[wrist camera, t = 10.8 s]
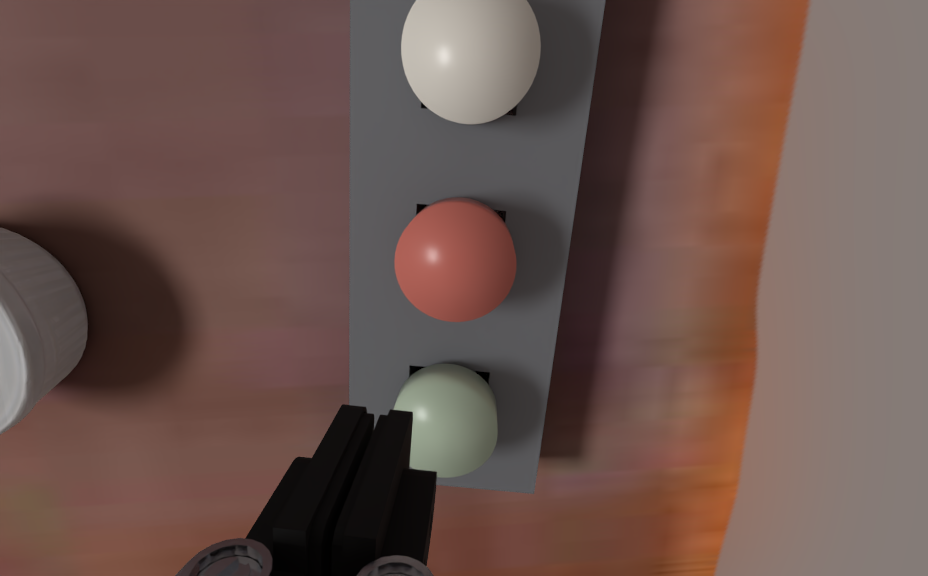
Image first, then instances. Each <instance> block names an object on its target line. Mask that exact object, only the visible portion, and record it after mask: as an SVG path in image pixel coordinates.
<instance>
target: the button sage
mask: <svg viewBox="0 0 928 576" xmlns="http://www.w3.org/2000/svg"><path fill="white" fill-rule="evenodd" d="M393 410H401V411H411V412H413V425H412V439H411V452H410V467H412V468H413V469H417V470H427V471H436V472H437V477H441V478H449V477H457V476H462V475H465V474H468V473H470V472H472V471H474V470H476V469H477V468H479V467H480V466H481V465H483V464H484V463H485V462H486V461H487V460H488V458H489V457H490V456H491V454H492V452H493V450H494V448H495V445H496V442H497V435H498V428H497V406H496V400H495V396H494V394H493V392H492V390H491V388H490V386H489V385H488V384H487V382H486V381H485V380H484V379H483V378H482V377H481V376H479V375H478V374H477V373H476V372H475V371H472V370H470V369H468V368H465V367H463V366H459V365H455V364H435V365H430V366H427V367H425V368H422V369H420V370H418V371H417V372H415V373H414V374H412V375H411V376H410V377H409V378H408V379H407V380H406V381H405V383H404V384H403V386H402V387H401V389H400V392H399V394H398V397H397V400H396V403H395V406H394V409H393Z"/></svg>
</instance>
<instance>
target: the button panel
mask: <svg viewBox="0 0 928 576" xmlns="http://www.w3.org/2000/svg"><path fill="white" fill-rule="evenodd" d="M415 1H416V0H350V307H349V405H353V406H363V407H366V408H367V413H371V414H374V428H375V426H376V423H377V421H378V418H379V416H380V415H388V413H389V410H390V409H391V410H393V409H394V406H395V403H396V400H397V397H398V394H399V392H400V389H401V387H402V386H403V384H404V383H405V381H406V380H407V379H408V378H409V377H410V376H411V375H412V374H414V373H415V372H416V366H422V367H427V366H430V365H435V364H455V365H459V366H463V367H465V368H468V369H470V370H472V371H480V372H487V377H486V382H487V384H488V385H489V386H490V388H491V390H492V392H493V394H494V396H495V400H496V406H497V428H498V435H497V442H496V445H495V448H494V450H493V452H492V454H491V456H490V457H489V458H488V460H487V461H486V462H485V463H484V464H483V465H481V466H480V467H479V468H477V469H476V470H474V471H472V472H470V473H468V474H465V475H462V476H457V477H449V478H441V477H437V481H436V485H443V486H454V487H465V488H476V489H487V490H498V491H510V492H521V493H532V494H534V489H535V482H536V476H537V469H538V462H539V455H540V448H541V441H542V434H543V427H544V421H545V414H546V407H547V400H548V393H549V386H550V379H551V372H552V366H553V359H554V352H555V345H556V338H557V331H558V324H559V317H560V310H561V304H562V297H563V290H564V283H565V276H566V269H567V262H568V255H569V249H570V242H571V235H572V228H573V221H574V214H575V207H576V200H577V193H578V187H579V180H580V173H581V166H582V159H583V152H584V145H585V138H586V132H587V125H588V118H589V111H590V104H591V97H592V90H593V83H594V77H595V70H596V63H597V56H598V49H599V42H600V35H601V28H602V21H603V15H604V8H605V1H606V0H527V2H528V3H529V5H530V6H531V8H532V10H533V13H534V15H535V17H536V20H537V23H538V27H539V32H540V41H541V51H540V60H539V66H538V69H537V73H536V76H535V78H534V80H533V83H532V85H531V86H530V88H529V90H528V92H527V93H526V94H525V96H524V97H523V98H522V100H521V101H520V102H519V103H518V104H517V105H516V106H515V107H514V108H513V115H503V116H501V117H499V118H497V119H495V120H493V121H490V122H486V123H482V124H461V123H456V122H453V121H449V120H447V119H445V118H442V117H440V116H438V115H437V114H435V113H434V112H432V111H431V110H430V109H428V108H427V107H426V106H425V105H424V104H423V103H422V102H421V101H420V100H419V98H418V97H417V96H416V94H415V93H414V92H413V90H412V88H411V86H410V84H409V82H408V80H407V77H406V75H405V71H404V67H403V63H402V56H401V41H402V33H403V28H404V24H405V21H406V18H407V16H408V14H409V12H410V9H411V7H412V6H413V4H414V3H415ZM452 197H463V198H469V199H473V200H476V201H479V202H481V203H483V204H485V205H487V206H488V207H490V208H491V209H493V210H500V211H503V217H502V220H503V221H504V222H505V224H506V226H507V227H508V229H509V232H510V234H511V237H512V241H513V245H514V249H515V254H516V274H515V279H514V282H513V285H512V287H511V289H510V291H509V293H508V295H507V296H506V298H505V299H504V300H503V301H502V302H501V304H500V305H498V306H497V307H496V308H495V309H494V310H492V311H491V312H489V313H488V314H486V315H484V316H482V317H480V318H477V319H474V320H470V321H464V322H449V321H443V320H439V319H436V318H433V317H431V316H428V315H427V314H425V313H423V312H422V311H420V310H419V309H417V308H416V307H415V306H414V305H413V304H412V303H411V302H410V301H409V300H408V299H407V297H406V296H405V295H404V293H403V291H402V290H401V288H400V285H399V283H398V280H397V277H396V273H395V262H394V260H395V251H396V247H397V244H398V241H399V239H400V237H401V235H402V233H403V231H404V230H405V228H406V227H407V226H408V224H409V223H410V222H411V221H412V220H413V218H414V217H415V216H416V215H417V214H418V213H419V212H420V211H421V210H422V209H424V204H426V205H430V204H431V203H433V202H436V201H438V200H442V199H445V198H452ZM409 469H413V468H412V467H410V466H409Z"/></svg>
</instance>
